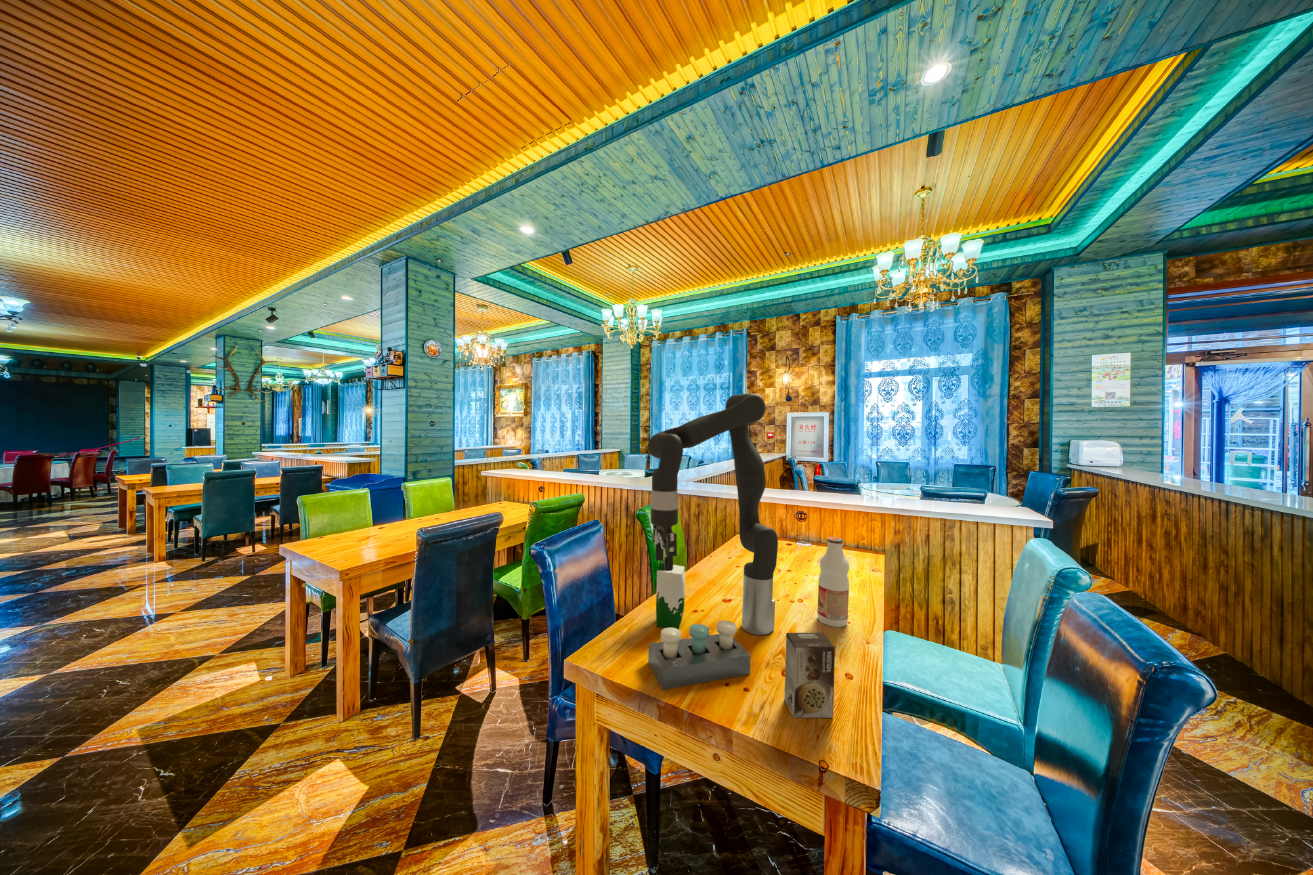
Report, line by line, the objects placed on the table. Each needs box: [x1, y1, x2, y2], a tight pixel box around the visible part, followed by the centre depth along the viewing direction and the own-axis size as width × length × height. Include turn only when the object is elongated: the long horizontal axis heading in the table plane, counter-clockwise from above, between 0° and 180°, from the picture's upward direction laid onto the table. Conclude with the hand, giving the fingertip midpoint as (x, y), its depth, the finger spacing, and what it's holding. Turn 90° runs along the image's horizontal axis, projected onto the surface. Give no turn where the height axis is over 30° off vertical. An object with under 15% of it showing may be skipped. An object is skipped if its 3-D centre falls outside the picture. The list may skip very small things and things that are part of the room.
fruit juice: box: [817, 536, 850, 628], centre depth 135 cm, size 9×9×28 cm
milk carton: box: [655, 559, 686, 630], centre depth 130 cm, size 9×9×20 cm
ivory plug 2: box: [716, 620, 737, 650], centre depth 108 cm, size 5×5×6 cm
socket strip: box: [647, 633, 752, 691], centre depth 106 cm, size 24×12×5 cm, turn 108°
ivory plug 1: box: [660, 628, 682, 659], centre depth 104 cm, size 5×5×6 cm
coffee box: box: [784, 632, 836, 719], centre depth 92 cm, size 9×6×16 cm
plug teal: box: [689, 623, 710, 655], centre depth 106 cm, size 5×5×6 cm
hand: (663, 565), depth 110 cm, fingers open, 8 cm apart
